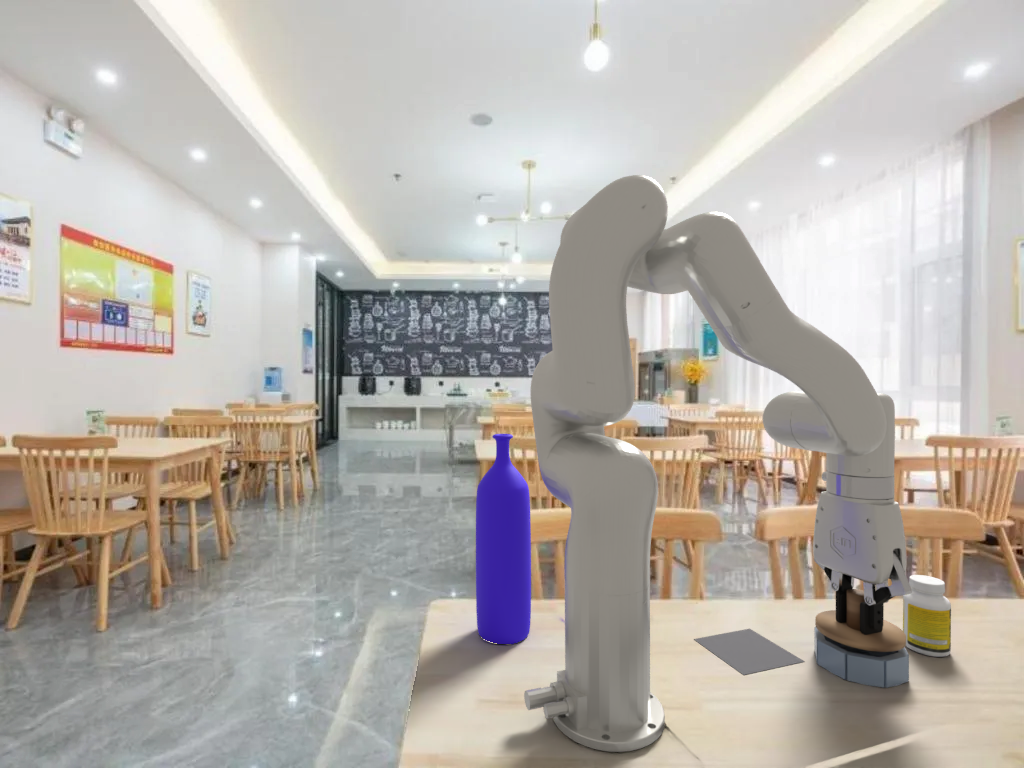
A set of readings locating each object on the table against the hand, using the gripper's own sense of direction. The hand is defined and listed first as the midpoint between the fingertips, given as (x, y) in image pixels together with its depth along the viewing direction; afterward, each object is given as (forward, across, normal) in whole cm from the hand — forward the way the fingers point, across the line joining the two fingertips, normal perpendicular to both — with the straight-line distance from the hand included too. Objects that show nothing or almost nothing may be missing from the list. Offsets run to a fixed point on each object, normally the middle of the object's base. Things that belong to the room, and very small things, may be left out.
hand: (858, 625), depth 71 cm
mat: (+6, -8, -11) cm, 15 cm away
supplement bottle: (+6, -1, +14) cm, 15 cm away
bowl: (+6, 0, 0) cm, 6 cm away
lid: (+1, 0, 0) cm, 1 cm away
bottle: (+6, -25, -41) cm, 48 cm away
